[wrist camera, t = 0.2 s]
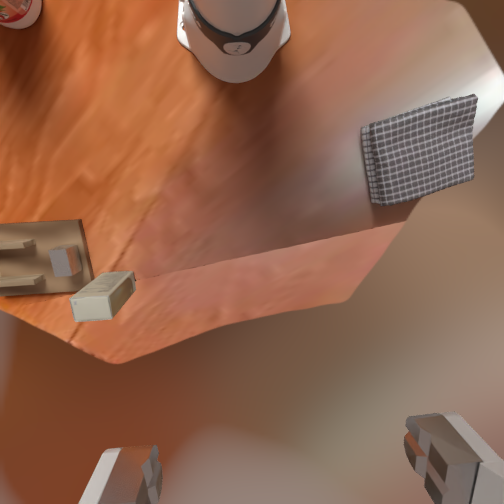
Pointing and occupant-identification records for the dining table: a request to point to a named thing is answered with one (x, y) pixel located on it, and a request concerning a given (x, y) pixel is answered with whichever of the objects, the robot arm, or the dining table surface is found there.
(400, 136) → the towel
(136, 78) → the dining table surface
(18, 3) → the fruit juice
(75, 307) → the skincare box
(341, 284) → the dining table surface
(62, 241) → the base
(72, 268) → the block
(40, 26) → the dining table surface
